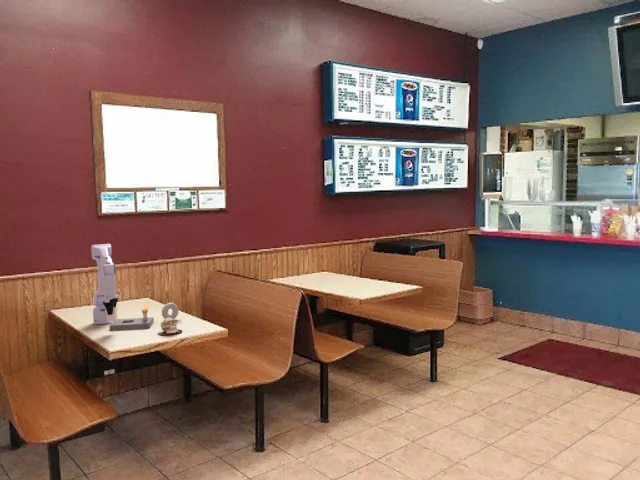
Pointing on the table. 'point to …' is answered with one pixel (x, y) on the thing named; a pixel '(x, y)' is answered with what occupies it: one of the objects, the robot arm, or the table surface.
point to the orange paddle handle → (145, 308)
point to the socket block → (132, 323)
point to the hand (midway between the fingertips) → (111, 313)
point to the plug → (111, 317)
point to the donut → (174, 311)
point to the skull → (169, 327)
